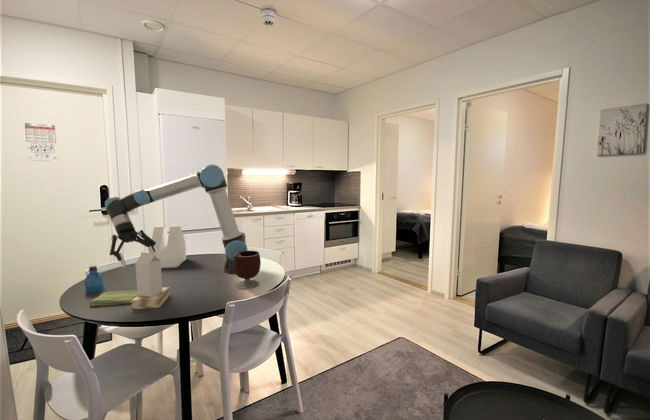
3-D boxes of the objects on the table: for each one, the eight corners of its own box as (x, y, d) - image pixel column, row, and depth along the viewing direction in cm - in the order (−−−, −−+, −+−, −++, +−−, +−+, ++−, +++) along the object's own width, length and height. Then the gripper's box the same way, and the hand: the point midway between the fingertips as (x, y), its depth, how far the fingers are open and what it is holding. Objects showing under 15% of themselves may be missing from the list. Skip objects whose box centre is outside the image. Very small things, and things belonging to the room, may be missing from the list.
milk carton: (150, 297, 135) (148, 255, 133) (137, 295, 136) (134, 254, 134) (162, 291, 142) (160, 251, 139) (149, 290, 143) (147, 250, 141)
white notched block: (177, 267, 193) (174, 228, 190) (151, 268, 190) (148, 228, 188) (186, 259, 212) (184, 223, 209) (162, 260, 209) (160, 224, 207)
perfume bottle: (85, 293, 150) (83, 269, 149) (88, 289, 155) (86, 266, 154) (101, 291, 153) (99, 267, 151) (103, 287, 158) (101, 264, 157)
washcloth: (131, 305, 137) (131, 298, 137) (88, 308, 134) (87, 301, 134) (143, 294, 150) (143, 287, 149) (104, 296, 147) (103, 290, 146)
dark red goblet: (252, 278, 171) (251, 243, 169) (266, 285, 161) (265, 248, 159) (226, 285, 160) (224, 248, 158) (239, 293, 150) (238, 253, 148)
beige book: (169, 295, 147) (169, 287, 147) (159, 307, 134) (158, 298, 133) (145, 296, 145) (144, 288, 145) (132, 309, 132) (131, 300, 131)
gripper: (146, 225, 163) (163, 259, 158) (91, 234, 143) (108, 273, 138) (151, 217, 159) (168, 252, 154) (96, 225, 139) (113, 265, 134)
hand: (140, 262), depth 146 cm, fingers open, 13 cm apart
